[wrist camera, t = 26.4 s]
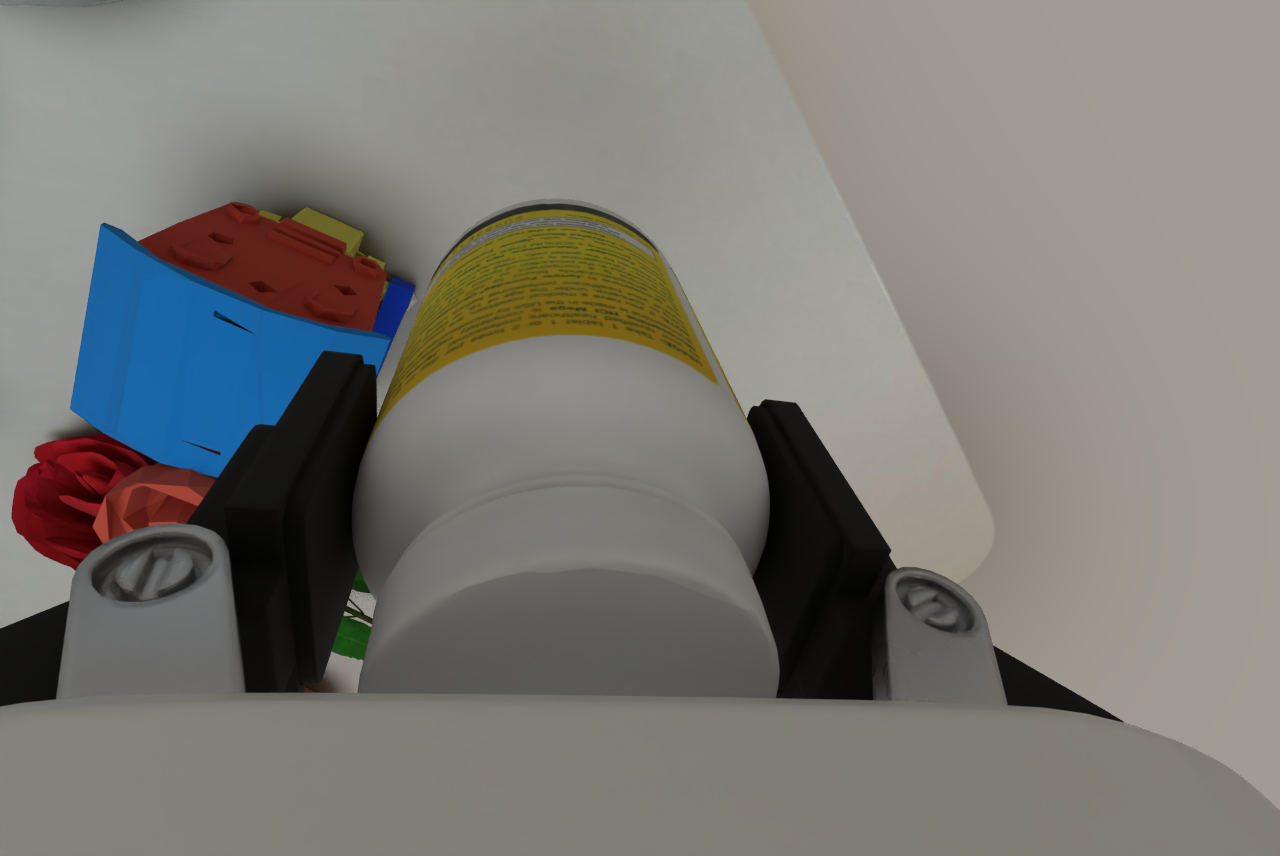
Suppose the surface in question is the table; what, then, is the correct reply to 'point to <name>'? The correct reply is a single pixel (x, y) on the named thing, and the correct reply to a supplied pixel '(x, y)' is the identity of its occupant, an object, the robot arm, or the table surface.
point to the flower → (73, 494)
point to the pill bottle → (562, 479)
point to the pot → (55, 2)
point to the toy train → (217, 342)
